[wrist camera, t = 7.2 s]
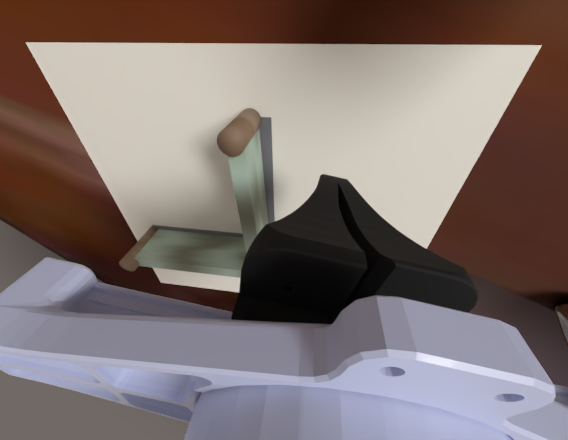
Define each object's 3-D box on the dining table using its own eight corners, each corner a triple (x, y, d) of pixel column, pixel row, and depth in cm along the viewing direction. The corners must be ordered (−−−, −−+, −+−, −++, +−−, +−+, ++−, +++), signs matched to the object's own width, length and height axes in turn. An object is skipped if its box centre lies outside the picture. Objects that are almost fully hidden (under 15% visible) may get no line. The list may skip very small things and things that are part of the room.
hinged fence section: (271, 237, 21) (262, 273, 18) (256, 236, 21) (244, 271, 18) (260, 107, 14) (242, 129, 11) (238, 108, 14) (214, 128, 11)
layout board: (390, 307, 26) (391, 312, 26) (163, 279, 29) (160, 283, 29) (534, 44, 11) (543, 45, 11) (33, 42, 14) (23, 42, 14)
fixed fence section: (274, 237, 21) (263, 279, 18) (274, 249, 22) (264, 291, 19) (146, 225, 23) (113, 261, 19) (152, 236, 24) (121, 273, 20)
